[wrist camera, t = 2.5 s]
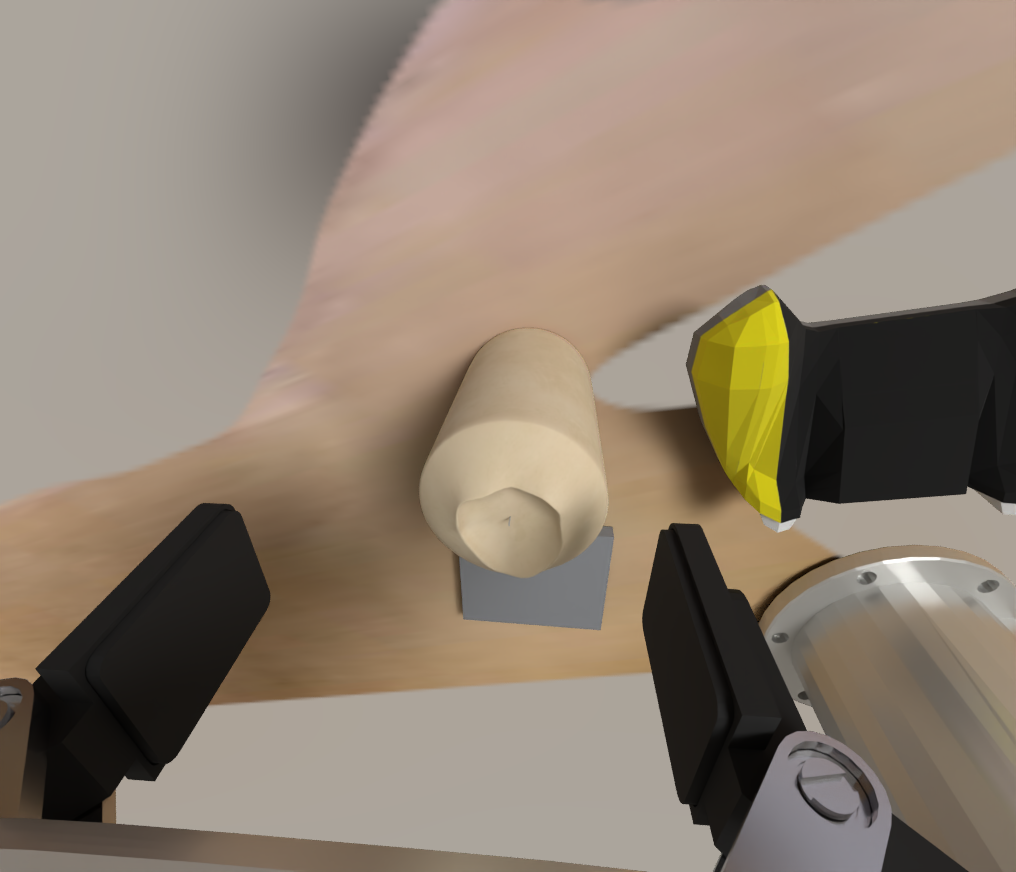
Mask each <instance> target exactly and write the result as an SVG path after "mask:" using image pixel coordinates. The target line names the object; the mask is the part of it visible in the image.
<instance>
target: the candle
mask: <svg viewBox="0 0 1016 872" xmlns="http://www.w3.org/2000/svg"><path fill="white" fill-rule="evenodd" d="M419 500H420V506H421V509H422V512H423V515H424V517H425V519H426V522H427V523H428V525H429V527H430V528H431V530H432V531H433V533H434V534H435V535H436V536H437V537H438V539H439V540H440V541H441V542H442V543H443V544H444V545H445V546H447V547H448V548H449V549H450V550H452V551H453V552H454V553H456V554H457V555H458V556H460V557H462V558H463V559H465V560H466V561H468V562H470V563H473V564H475V565H477V566H479V567H482V568H484V569H487V570H490V571H494V572H499V573H503V574H507V575H511V576H514V577H518V578H529V577H533V576H535V575H537V574H539V573H541V572H543V571H545V570H548V569H551V568H554V567H557V566H559V565H562V564H564V563H566V562H568V561H570V560H572V559H574V558H575V557H577V556H578V555H580V554H581V553H582V552H583V551H585V550H586V549H587V548H588V547H589V546H590V545H591V544H592V543H593V542H594V540H595V539H596V538H597V536H598V535H599V533H600V532H601V529H602V527H603V525H604V523H605V520H606V516H607V513H608V503H609V501H608V489H607V482H606V475H605V468H604V462H603V455H602V448H601V442H600V435H599V428H598V422H597V415H596V408H595V402H594V395H593V388H592V383H591V378H590V374H589V370H588V368H587V365H586V363H585V361H584V359H583V358H582V356H581V355H580V354H579V352H578V351H577V350H576V348H575V347H574V346H573V345H572V344H571V343H569V342H568V341H567V340H565V339H564V338H562V337H561V336H559V335H557V334H555V333H553V332H550V331H547V330H543V329H538V328H518V329H513V330H509V331H506V332H504V333H501V334H499V335H498V336H496V337H494V338H493V339H491V340H490V341H489V342H487V343H486V344H485V345H484V346H483V347H482V348H481V349H480V350H479V351H478V353H477V354H476V355H475V357H474V359H473V361H472V363H471V364H470V366H469V368H468V370H467V372H466V375H465V377H464V379H463V381H462V383H461V386H460V388H459V390H458V392H457V394H456V397H455V399H454V401H453V403H452V405H451V408H450V410H449V412H448V414H447V416H446V418H445V421H444V423H443V425H442V427H441V429H440V432H439V434H438V436H437V438H436V440H435V443H434V445H433V447H432V449H431V451H430V454H429V456H428V458H427V460H426V462H425V465H424V467H423V470H422V473H421V477H420V482H419Z"/></svg>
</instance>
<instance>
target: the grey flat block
mask: <svg viewBox="0 0 1016 872" xmlns="http://www.w3.org/2000/svg"><path fill="white" fill-rule="evenodd" d="M613 540H614V534H613V528H612V527H606V526H603V527H602V529H601V532H600V533H599V535H598V536H597V538H596V539H595V540H594V542H593V543H592V544H591V545H590V546H589V547H588V548H587V549H586V550H585V551H583V552H582V553H581V554H580V555H578V556H577V557H575V558H574V559H572V560H570V561H568V562H566V563H564V564H562V565H559V566H557V567H554V568H551V569H548V570H545V571H543V572H541V573H539V574H537V575H535V576H533V577H529V578H518V577H514V576H511V575H507V574H503V573H499V572H494V571H490V570H487V569H484V568H482V567H479V566H477V565H475V564H473V563H470V562H468V561H466V560H465V559H463V558H462V557H460V556H459V562H460V577H461V591H462V606H463V619H466V620H479V621H491V622H504V623H517V624H529V625H542V626H555V627H567V628H580V629H593V630H601V623H602V617H603V610H604V603H605V596H606V589H607V582H608V575H609V568H610V561H611V554H612V547H613Z"/></svg>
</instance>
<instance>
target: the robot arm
mask: <svg viewBox="0 0 1016 872" xmlns="http://www.w3.org/2000/svg"><path fill="white" fill-rule="evenodd" d="M269 603H270V591H269V588H268V585H267V583H266V580H265V577H264V575H263V572H262V569H261V567H260V564H259V561H258V559H257V556H256V553H255V551H254V548H253V545H252V543H251V540H250V537H249V534H248V532H247V529H246V526H245V524H244V521H243V518H242V516H241V514H240V513H239V512H238V511H235V509H234V507H233V506H231V505H229V504H214V503H203V504H200V505H198V506H197V507H196V508H195V509H194V510H193V511H192V512H191V513H190V514H189V515H188V516H187V517H186V518H185V519H184V520H183V521H182V522H181V523H180V524H179V525H178V526H177V527H176V528H175V529H174V530H173V531H172V532H171V533H170V534H169V535H168V536H167V537H166V538H165V539H164V540H163V541H162V542H161V543H160V544H159V545H158V546H157V547H156V548H155V549H154V550H153V551H152V552H151V553H150V554H149V555H148V556H147V557H146V558H145V559H144V560H143V561H142V562H141V563H140V564H139V565H138V566H137V567H136V568H135V569H134V570H133V571H132V572H131V573H130V574H129V575H128V576H127V577H126V578H125V579H124V580H123V581H122V582H121V583H120V584H119V585H118V586H117V587H116V588H115V589H114V590H113V591H112V592H111V593H110V594H109V595H108V596H107V597H106V598H105V599H104V600H103V601H102V602H101V603H100V604H99V605H98V606H97V607H96V608H95V609H94V610H93V611H92V612H91V613H90V614H89V615H88V616H87V617H86V618H85V619H84V620H83V621H82V622H81V623H80V624H79V625H78V626H77V627H76V628H75V629H74V630H73V631H72V632H71V633H70V634H69V635H68V636H67V637H66V638H65V639H64V640H63V641H62V642H61V643H60V644H59V645H58V646H57V647H56V648H55V649H54V650H53V651H52V652H51V653H50V654H49V655H48V656H47V657H46V658H45V659H44V660H43V661H42V662H41V663H40V664H39V666H38V667H37V668H36V670H37V671H38V673H39V674H40V675H41V676H40V677H39V678H38V679H37V680H36V681H35V682H34V683H33V684H31V683H30V682H29V681H28V680H26V679H21V678H8V679H1V680H0V872H645V871H636V870H627V869H617V868H609V867H600V866H590V865H581V864H573V863H563V862H555V861H545V860H534V859H523V858H511V857H500V856H490V855H478V854H467V853H456V852H446V851H435V850H424V849H413V848H401V847H389V846H378V845H367V844H354V843H343V842H332V841H319V840H307V839H296V838H285V837H273V836H261V835H249V834H238V833H225V832H213V831H200V830H187V829H175V828H161V827H150V826H138V825H125V824H116V792H115V791H116V788H117V786H118V785H119V783H120V782H121V780H122V779H123V777H124V776H126V778H127V779H132V780H144V781H155V780H156V779H157V777H158V775H159V774H160V772H161V771H162V769H163V767H164V766H165V764H168V763H169V762H171V761H172V760H173V759H174V758H175V757H176V756H177V755H178V753H179V752H180V750H181V749H182V747H183V745H184V744H185V742H186V740H187V739H188V737H189V736H190V734H191V732H192V731H193V729H194V727H195V726H196V724H197V722H198V721H199V719H200V718H201V716H202V714H203V713H204V711H205V709H206V708H207V706H208V705H209V703H210V701H211V700H212V698H213V696H214V695H215V693H216V692H217V690H218V688H219V687H220V685H221V683H222V682H223V680H224V679H225V677H226V675H227V674H228V672H229V670H230V669H231V667H232V666H233V664H234V662H235V661H236V659H237V657H238V656H239V654H240V652H241V651H242V649H243V648H244V646H245V644H246V643H247V641H248V639H249V638H250V636H251V635H252V633H253V631H254V630H255V628H256V626H257V625H258V623H259V622H260V620H261V618H262V617H263V615H264V613H265V612H266V610H267V608H268V606H269ZM642 623H643V631H644V636H645V641H646V646H647V651H648V655H649V660H650V665H651V670H652V675H653V680H654V684H655V689H656V694H657V699H658V704H659V709H660V713H661V718H662V722H663V727H664V732H665V737H666V742H667V747H668V752H669V757H670V762H671V766H672V771H673V776H674V781H675V786H676V790H677V794H678V797H679V800H680V802H681V803H682V804H689V806H690V810H691V815H692V820H693V824H698V825H710V829H711V833H712V837H713V841H714V845H715V847H716V848H717V849H718V850H719V851H720V852H721V855H720V857H719V859H718V861H717V863H716V866H715V868H714V870H713V872H1016V585H1014V583H1012V582H1011V581H1010V580H1009V579H1008V578H1007V577H1006V576H1005V575H1004V574H1003V573H1002V572H1001V571H1000V570H998V569H997V568H996V567H994V566H993V565H991V564H990V563H989V562H987V561H986V560H984V559H981V558H979V557H977V556H974V555H972V554H969V553H967V552H964V551H959V550H955V549H950V548H945V547H939V546H938V547H937V546H922V545H908V546H895V547H894V546H893V547H883V548H878V549H873V550H868V551H863V552H859V553H855V554H852V555H849V556H846V557H843V558H839V559H836V560H833V561H831V562H829V563H827V564H825V565H823V566H820V567H818V568H816V569H814V570H812V571H810V572H808V573H807V574H805V575H804V576H802V577H801V578H799V579H798V580H796V581H794V582H793V583H791V584H790V585H789V586H788V587H787V588H786V589H785V590H783V591H782V592H781V593H780V594H779V595H778V596H777V597H776V598H775V599H774V600H773V601H772V603H771V604H770V605H769V607H768V608H767V609H766V610H765V612H764V614H763V616H762V618H761V620H760V622H759V624H758V622H757V620H756V618H755V616H754V613H753V611H752V609H751V607H750V605H749V602H748V600H747V599H746V597H745V595H744V594H743V593H742V592H741V591H740V590H736V589H727V586H726V584H725V582H724V579H723V577H722V575H721V572H720V570H719V567H718V565H717V563H716V560H715V558H714V556H713V553H712V551H711V548H710V546H709V544H708V541H707V539H706V537H705V534H704V532H703V529H702V528H701V526H700V525H699V524H680V523H672V524H670V526H669V529H668V530H661V531H660V534H659V539H658V544H657V548H656V553H655V558H654V562H653V567H652V572H651V576H650V581H649V586H648V590H647V595H646V600H645V604H644V609H643V616H642ZM793 699H794V700H796V701H798V702H800V703H803V704H805V705H809V706H811V707H813V709H814V711H815V713H816V715H817V718H818V720H819V722H820V724H821V726H822V728H823V730H824V732H825V734H826V735H824V734H820V733H817V732H813V731H807V730H806V727H805V725H804V723H803V721H802V719H801V717H800V714H799V712H798V710H797V708H796V706H795V704H794V701H793Z"/></svg>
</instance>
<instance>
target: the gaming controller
mask: <svg viewBox="0 0 1016 872" xmlns="http://www.w3.org/2000/svg"><path fill="white" fill-rule="evenodd" d="M686 367H687V371H688V375H689V378H690V382H691V386H692V390H693V393H694V398H695V402H696V405H697V409H698V413H699V417H700V420H701V422H702V425H703V427H704V429H705V431H706V433H707V436H708V438H709V440H710V442H711V445H712V447H713V449H714V451H715V454H716V456H717V458H718V460H719V461H720V463H721V465H722V467H723V469H724V471H725V473H726V474H727V476H728V477H729V479H730V480H731V482H732V483H733V485H734V486H735V487H736V488H737V490H738V491H739V492H740V494H741V495H742V496H743V498H744V499H745V500H746V501H747V502H748V503H749V504H750V505H752V506H753V507H754V508H755V509H756V510H757V511H758V512H759V513H760V515H761V518H762V521H763V523H764V525H766V526H767V527H769V528H771V529H773V530H774V531H776V532H781V531H784V530H788V529H790V527H791V526H792V525H793V523H794V522H795V521H796V519H797V518H800V515H801V510H802V506H803V504H804V501H805V499H806V498H807V499H813V500H820V501H826V502H832V503H838V504H841V503H853V502H867V501H880V500H893V499H907V498H919V497H932V496H946V495H960V494H966V491H967V486H968V487H970V488H972V489H974V490H975V491H976V492H978V493H979V494H980V495H981V496H982V497H983V498H985V499H986V500H987V501H988V502H989V503H990V504H992V505H993V506H994V507H995V508H996V509H997V510H999V511H1000V512H1001V513H1002V514H1006V515H1016V289H1013V290H1011V291H1008V292H1004V293H1001V294H997V295H994V296H990V297H987V298H983V299H979V300H974V301H968V302H962V303H957V304H949V305H942V306H935V307H927V308H920V309H912V310H905V311H897V312H890V313H882V314H875V315H868V316H860V317H853V318H845V319H838V320H831V321H822V322H811V323H805V322H801V321H799V320H798V318H797V317H796V316H795V315H794V314H793V313H792V312H791V310H790V309H789V308H788V307H787V306H786V305H785V304H784V303H783V301H782V300H781V299H779V297H778V296H777V295H776V294H775V292H774V291H773V290H772V289H770V288H769V287H767V286H766V285H760V286H757V287H755V288H752V289H750V290H747V291H746V292H744V293H743V294H741V295H740V296H738V297H737V298H736V299H734V300H733V301H732V302H731V303H729V304H728V305H727V306H726V307H724V308H723V309H722V310H721V311H720V312H718V313H717V314H716V315H715V316H713V317H712V318H711V319H710V320H709V321H707V322H706V323H705V324H704V325H702V326H701V327H700V328H699V329H698V330H696V331H695V332H694V334H693V338H692V342H691V346H690V350H689V354H688V358H687V362H686Z"/></svg>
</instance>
